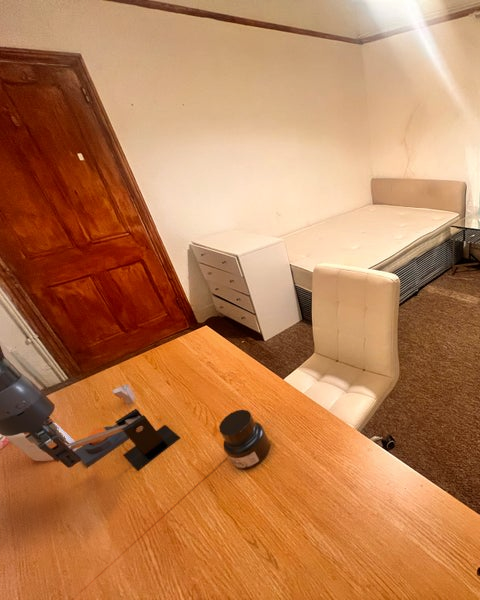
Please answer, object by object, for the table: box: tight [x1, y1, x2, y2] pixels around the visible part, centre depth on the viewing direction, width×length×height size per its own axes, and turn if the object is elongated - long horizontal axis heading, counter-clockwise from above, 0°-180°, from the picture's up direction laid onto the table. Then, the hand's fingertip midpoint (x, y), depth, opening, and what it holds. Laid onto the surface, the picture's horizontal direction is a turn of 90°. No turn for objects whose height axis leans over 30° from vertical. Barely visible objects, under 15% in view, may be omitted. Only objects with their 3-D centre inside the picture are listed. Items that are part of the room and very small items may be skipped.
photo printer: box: [5, 422, 79, 462], centre depth 77 cm, size 10×4×12 cm, turn 89°
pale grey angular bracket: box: [112, 384, 136, 405], centre depth 92 cm, size 7×2×8 cm, turn 35°
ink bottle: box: [218, 409, 271, 470], centre depth 74 cm, size 10×9×12 cm
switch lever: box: [68, 416, 140, 449], centre depth 70 cm, size 14×5×2 cm, turn 149°
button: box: [87, 427, 107, 445], centre depth 79 cm, size 4×4×2 cm
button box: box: [74, 423, 130, 468], centre depth 80 cm, size 10×7×4 cm
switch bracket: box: [115, 408, 181, 472], centre depth 76 cm, size 10×8×12 cm
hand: (70, 456), depth 65 cm, fingers closed on switch lever, 5 cm apart
